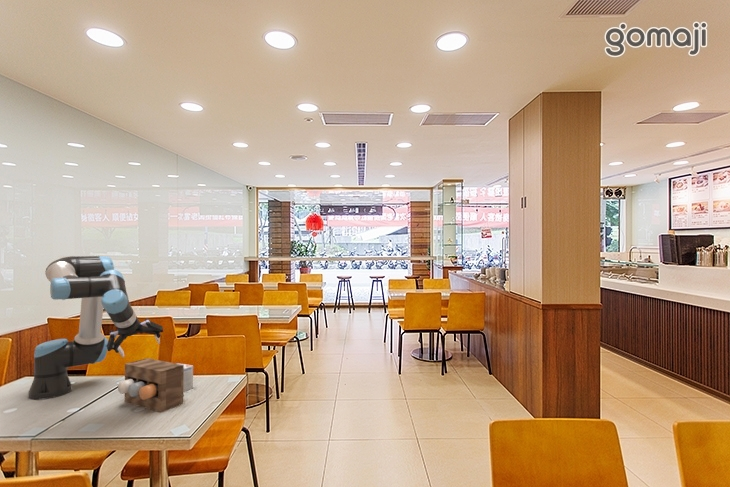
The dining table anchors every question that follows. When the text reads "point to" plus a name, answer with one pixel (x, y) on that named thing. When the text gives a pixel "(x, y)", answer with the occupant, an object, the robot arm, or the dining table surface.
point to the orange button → (148, 391)
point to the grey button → (135, 388)
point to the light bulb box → (187, 377)
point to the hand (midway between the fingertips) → (141, 347)
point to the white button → (125, 385)
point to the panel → (157, 383)
